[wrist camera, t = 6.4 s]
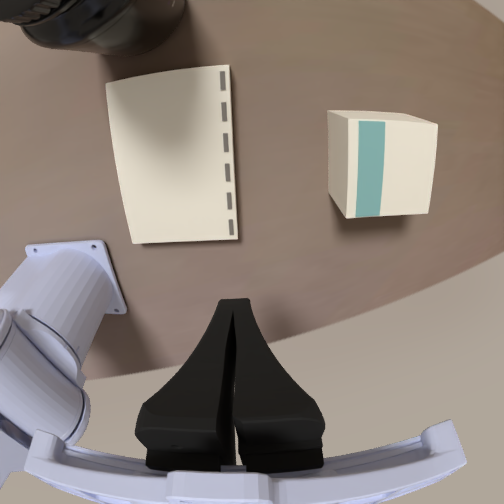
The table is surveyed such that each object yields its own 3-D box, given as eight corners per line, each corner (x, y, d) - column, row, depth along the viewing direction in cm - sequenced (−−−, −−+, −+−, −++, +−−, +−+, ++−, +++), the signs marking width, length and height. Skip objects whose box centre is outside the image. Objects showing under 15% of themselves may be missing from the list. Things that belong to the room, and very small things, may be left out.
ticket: (137, 236, 23) (132, 244, 21) (112, 82, 16) (104, 83, 15) (238, 231, 23) (237, 239, 21) (229, 66, 16) (228, 64, 15)
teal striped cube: (327, 191, 21) (346, 219, 17) (326, 110, 18) (348, 118, 14) (399, 188, 21) (428, 214, 17) (403, 113, 18) (438, 124, 14)
